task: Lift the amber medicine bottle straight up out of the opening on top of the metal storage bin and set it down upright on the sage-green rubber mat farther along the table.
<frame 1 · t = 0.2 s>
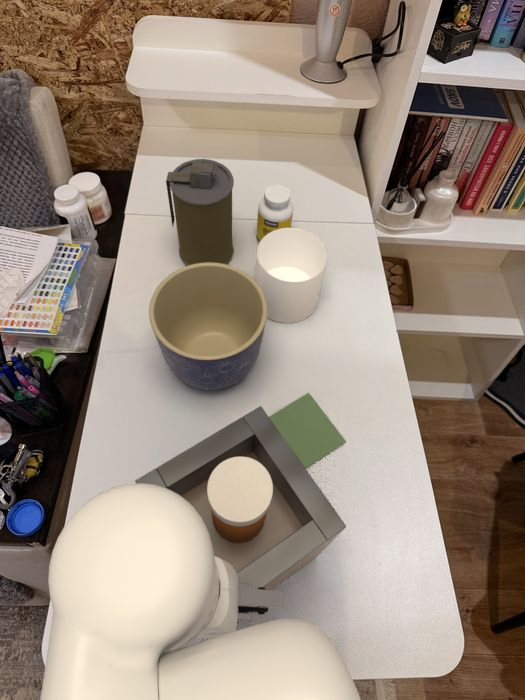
hand: (183, 604, 48), 23 cm above the table, tool pointing down, fingers open, 9 cm apart
canister: (205, 251, 98), on the table
metal storage bin: (237, 540, 72), on the table
planter: (212, 359, 87), on the table
mat: (301, 433, 81), on the table
medicine bottle: (238, 515, 58), point 16 cm above the table, touching metal storage bin
cup: (285, 297, 94), on the table
pill bottle: (272, 238, 101), on the table
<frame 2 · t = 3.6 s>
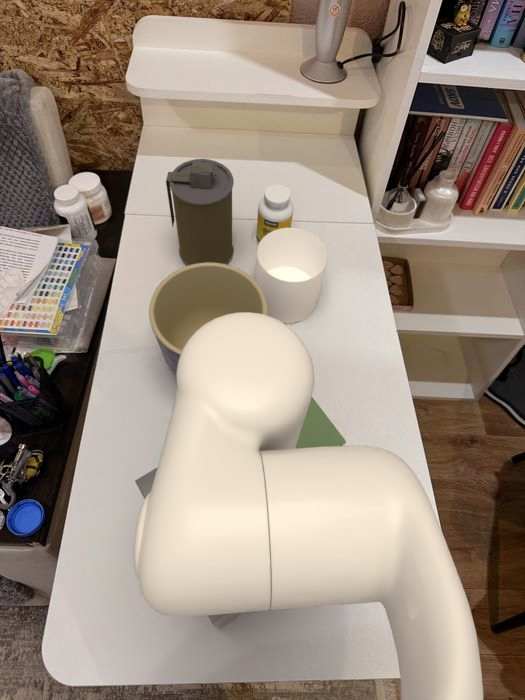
hand: (239, 500, 52), 23 cm above the table, tool pointing down, fingers closed on medicine bottle, 6 cm apart
medicine bottle: (238, 515, 58), point 16 cm above the table, touching gripper, metal storage bin
everything else where it was.
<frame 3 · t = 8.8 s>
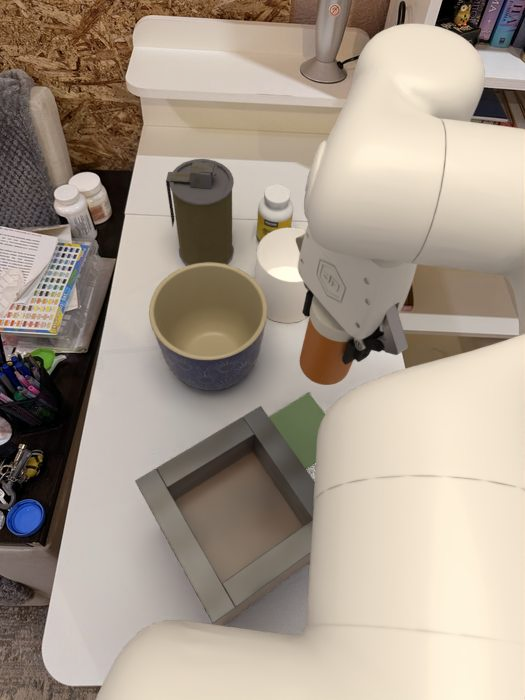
hand: (334, 331, 55), 30 cm above the table, tool pointing down, fingers closed on medicine bottle, 6 cm apart
medicine bottle: (324, 362, 61), point 23 cm above the table, touching gripper
everything else where it was.
when the fingers open (7 cm above the table, at t = 14.1 s): medicine bottle stays where it is, resting on mat.
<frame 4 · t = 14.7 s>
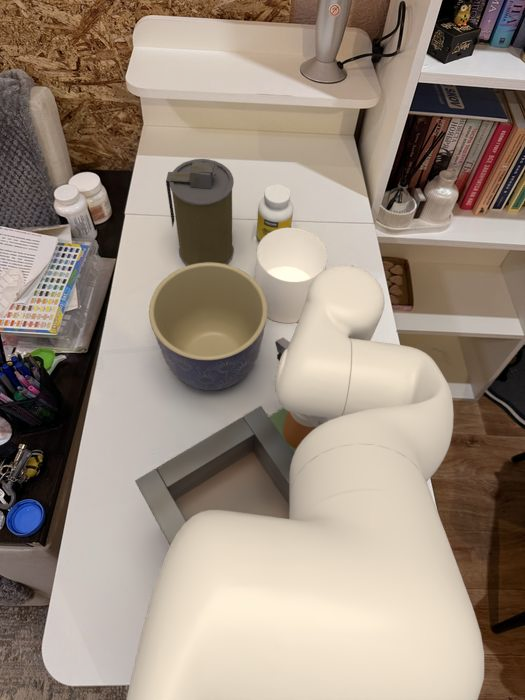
hand: (308, 412, 73), 9 cm above the table, tool pointing down, fingers open, 9 cm apart
medicine bottle: (302, 431, 80), resting on mat
everything else where it was.
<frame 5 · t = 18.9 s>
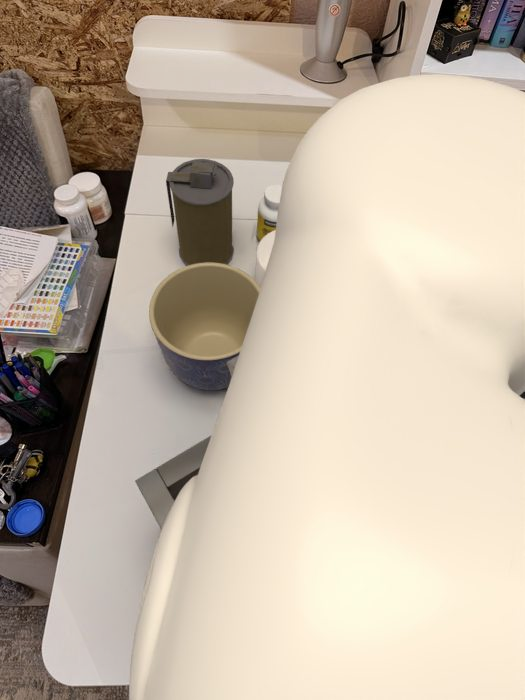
hand: (301, 506, 35), 40 cm above the table, tool pointing down, fingers open, 9 cm apart
nothing on the table moved.
at the end: medicine bottle inside the target area on the mat (0.1 cm from its centre), point 0.5 cm above the mat's base; medicine bottle tilted 0°; the gripper is holding nothing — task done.
